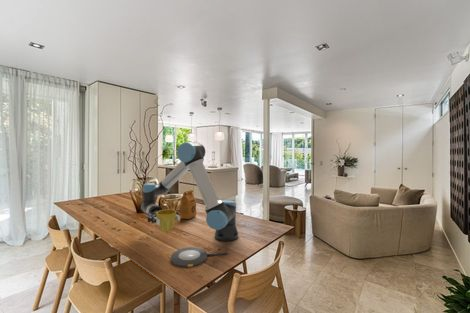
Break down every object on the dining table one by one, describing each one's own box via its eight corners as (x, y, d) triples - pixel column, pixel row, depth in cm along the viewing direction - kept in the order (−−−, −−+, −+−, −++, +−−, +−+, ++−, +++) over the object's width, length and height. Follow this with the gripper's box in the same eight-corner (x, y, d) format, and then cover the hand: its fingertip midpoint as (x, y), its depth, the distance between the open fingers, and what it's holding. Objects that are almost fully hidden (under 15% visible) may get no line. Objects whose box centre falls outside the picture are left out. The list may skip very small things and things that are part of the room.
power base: (224, 246, 131) (224, 244, 131) (232, 262, 113) (232, 259, 113) (171, 251, 124) (171, 249, 124) (170, 269, 106) (170, 266, 106)
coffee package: (198, 216, 188) (198, 190, 187) (188, 220, 177) (188, 192, 176) (188, 214, 192) (188, 188, 191) (178, 218, 181) (178, 191, 181)
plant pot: (159, 234, 118) (159, 215, 117) (153, 228, 126) (153, 211, 126) (178, 230, 124) (179, 212, 123) (172, 225, 132) (172, 208, 132)
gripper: (172, 214, 146) (188, 223, 129) (135, 221, 131) (147, 232, 114) (172, 202, 146) (188, 210, 128) (134, 208, 131) (147, 217, 114)
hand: (169, 220), depth 121 cm, fingers closed on plant pot, 10 cm apart
